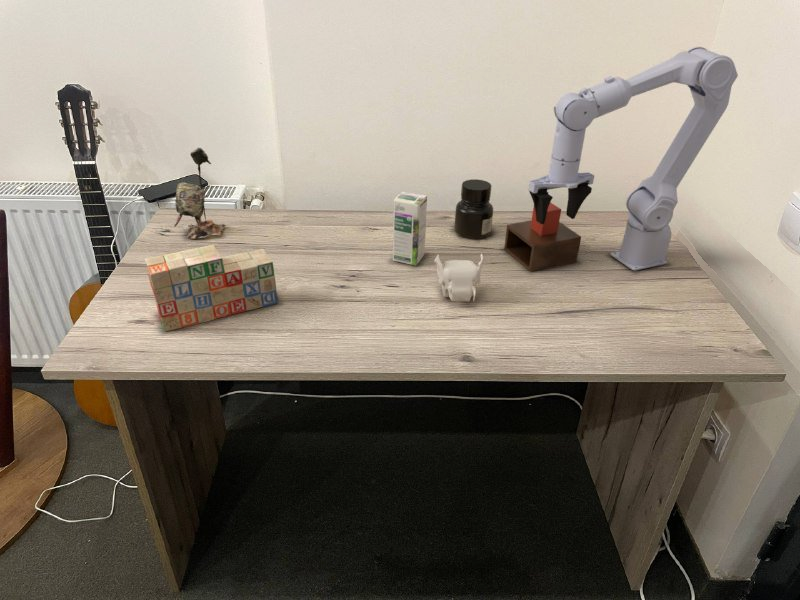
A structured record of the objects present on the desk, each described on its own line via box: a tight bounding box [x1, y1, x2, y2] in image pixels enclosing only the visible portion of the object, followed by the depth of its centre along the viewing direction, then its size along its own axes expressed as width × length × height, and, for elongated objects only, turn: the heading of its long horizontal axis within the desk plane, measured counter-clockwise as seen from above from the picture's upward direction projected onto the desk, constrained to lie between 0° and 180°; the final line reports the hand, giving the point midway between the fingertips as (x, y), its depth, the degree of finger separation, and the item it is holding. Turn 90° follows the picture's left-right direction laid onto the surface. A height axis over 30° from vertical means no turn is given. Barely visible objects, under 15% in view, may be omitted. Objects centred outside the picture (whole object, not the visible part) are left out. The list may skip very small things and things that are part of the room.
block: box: [530, 201, 562, 236], centre depth 130 cm, size 4×4×6 cm
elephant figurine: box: [433, 253, 484, 302], centre depth 118 cm, size 10×12×9 cm
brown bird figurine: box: [173, 147, 227, 240], centre depth 137 cm, size 8×11×20 cm
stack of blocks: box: [144, 244, 279, 332], centre depth 111 cm, size 21×6×12 cm, turn 117°
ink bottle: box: [453, 178, 494, 240], centre depth 142 cm, size 10×9×12 cm
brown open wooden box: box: [503, 219, 582, 272], centre depth 133 cm, size 12×11×6 cm
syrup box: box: [392, 191, 428, 266], centre depth 129 cm, size 6×6×14 cm
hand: (555, 219), depth 127 cm, fingers open, 7 cm apart
